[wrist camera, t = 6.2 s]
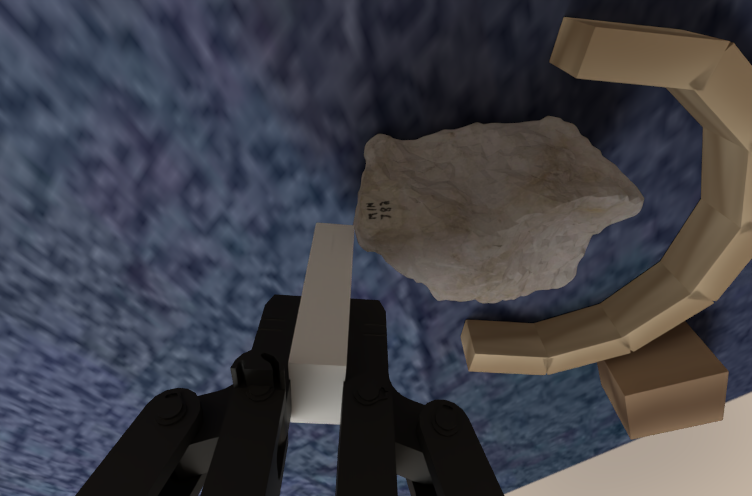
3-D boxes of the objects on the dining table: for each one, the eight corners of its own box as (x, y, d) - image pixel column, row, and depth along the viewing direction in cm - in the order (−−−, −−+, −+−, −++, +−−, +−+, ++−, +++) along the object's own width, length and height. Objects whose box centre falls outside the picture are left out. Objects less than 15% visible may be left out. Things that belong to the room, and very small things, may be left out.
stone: (538, 268, 21) (583, 359, 16) (351, 252, 21) (343, 341, 16) (607, 116, 16) (699, 183, 12) (365, 89, 16) (359, 148, 11)
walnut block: (591, 338, 25) (624, 396, 22) (679, 314, 24) (728, 371, 20) (600, 382, 27) (631, 439, 24) (679, 363, 26) (722, 420, 23)
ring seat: (563, 16, 14) (595, 26, 12) (840, 46, 15) (913, 60, 13) (460, 336, 24) (468, 371, 22) (628, 346, 25) (651, 380, 23)
